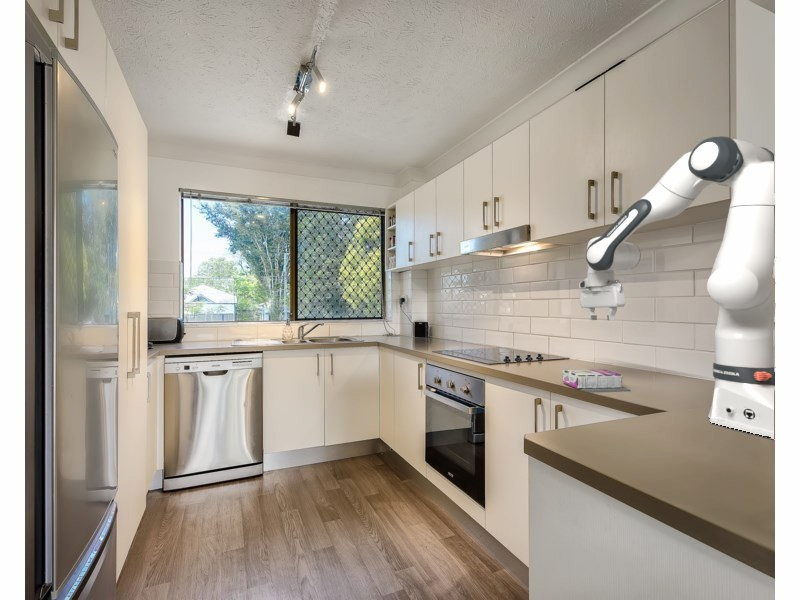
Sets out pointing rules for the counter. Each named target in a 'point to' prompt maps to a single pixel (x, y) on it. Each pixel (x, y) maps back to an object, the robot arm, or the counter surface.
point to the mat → (602, 389)
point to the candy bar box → (592, 378)
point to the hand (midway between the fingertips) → (602, 320)
